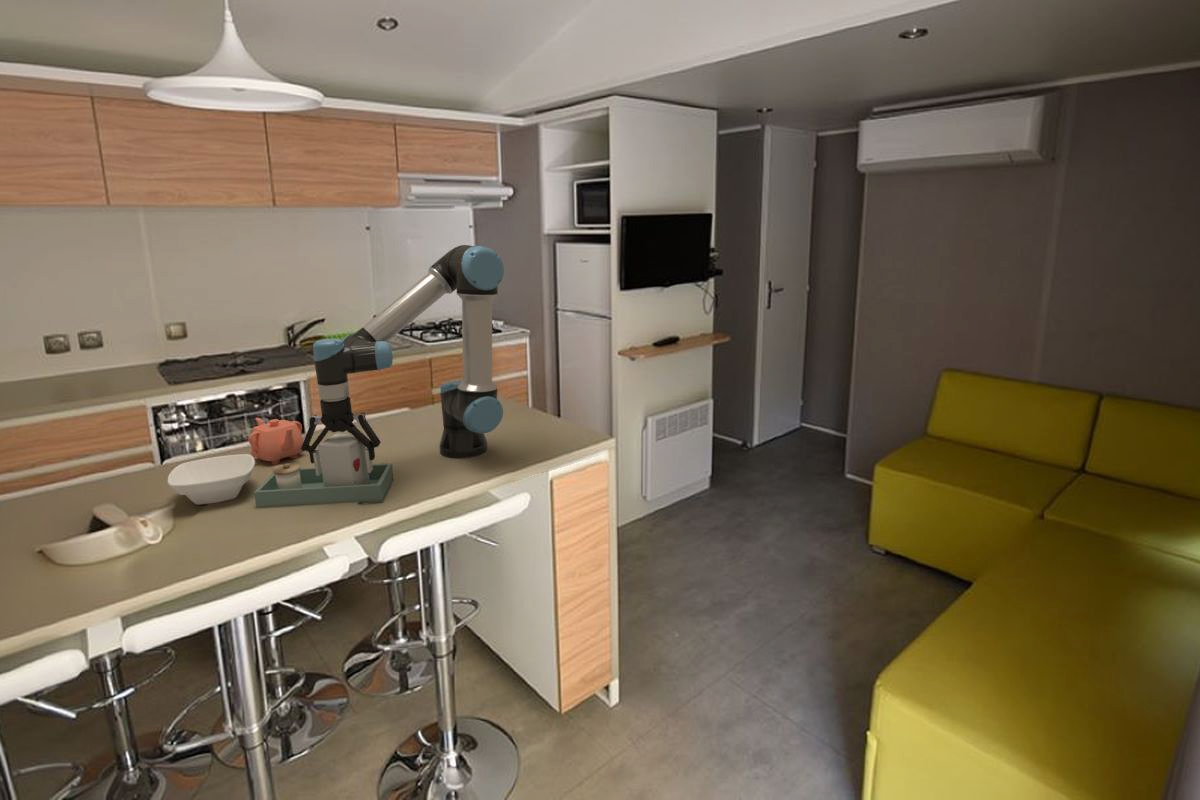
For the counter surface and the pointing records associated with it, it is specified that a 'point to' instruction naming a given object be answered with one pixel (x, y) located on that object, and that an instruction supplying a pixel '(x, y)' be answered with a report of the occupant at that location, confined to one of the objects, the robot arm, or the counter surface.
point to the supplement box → (343, 461)
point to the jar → (289, 481)
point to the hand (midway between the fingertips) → (344, 472)
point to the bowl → (212, 478)
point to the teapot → (276, 440)
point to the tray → (325, 489)
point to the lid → (286, 468)
